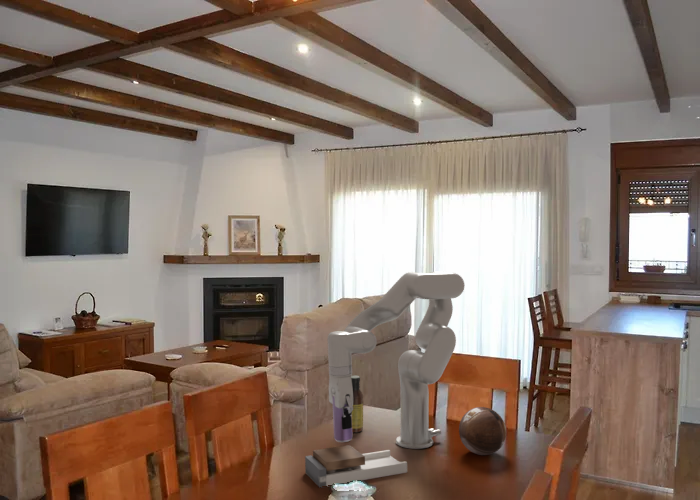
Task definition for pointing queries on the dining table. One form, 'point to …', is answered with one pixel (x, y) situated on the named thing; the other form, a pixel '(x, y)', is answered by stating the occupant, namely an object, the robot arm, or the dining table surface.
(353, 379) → the sauce bottle
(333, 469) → the slab
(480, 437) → the wooden sphere
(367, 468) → the track
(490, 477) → the dining table surface
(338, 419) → the beverage can
